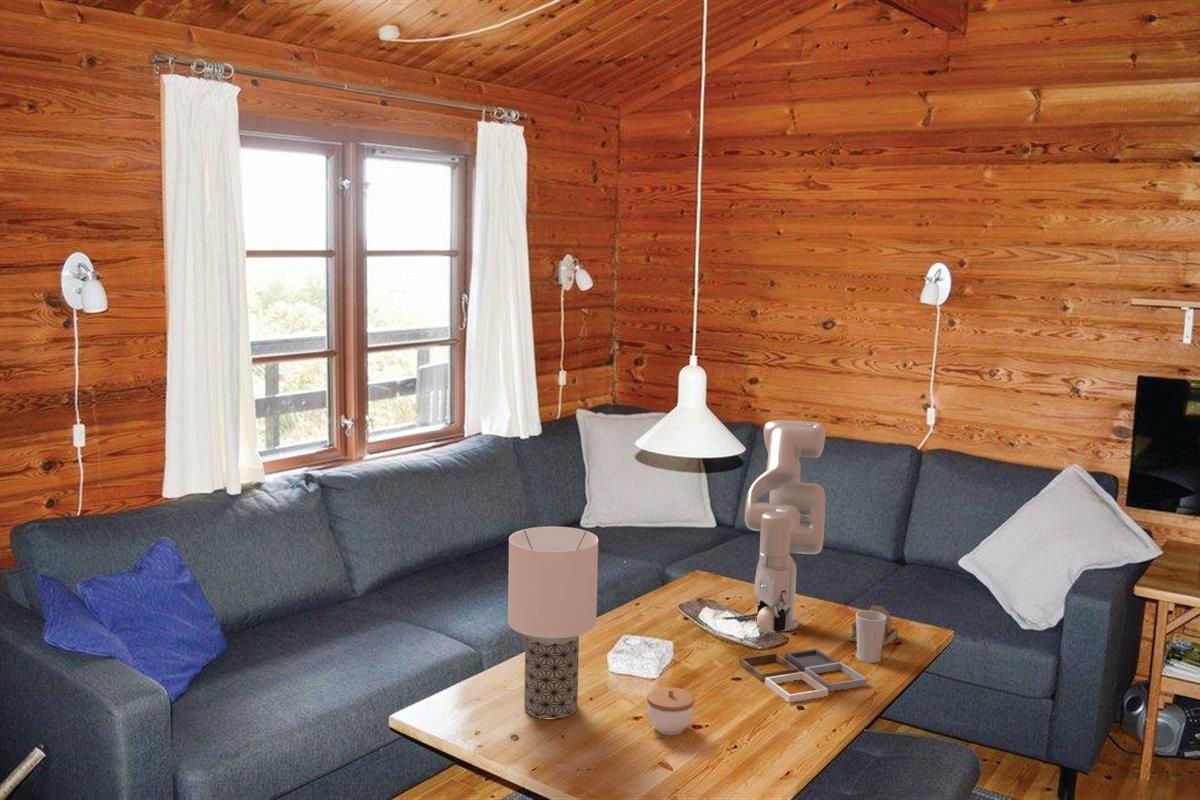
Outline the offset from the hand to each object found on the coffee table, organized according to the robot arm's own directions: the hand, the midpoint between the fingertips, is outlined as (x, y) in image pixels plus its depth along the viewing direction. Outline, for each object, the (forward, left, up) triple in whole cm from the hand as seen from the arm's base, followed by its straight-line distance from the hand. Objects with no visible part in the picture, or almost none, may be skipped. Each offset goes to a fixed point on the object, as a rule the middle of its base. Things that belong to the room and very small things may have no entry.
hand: (771, 624), depth 271 cm
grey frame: (+12, +13, -12) cm, 21 cm away
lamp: (+3, -61, -13) cm, 63 cm away
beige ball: (0, 0, -2) cm, 2 cm away
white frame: (+14, 0, -12) cm, 18 cm away
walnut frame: (+1, 0, -12) cm, 12 cm away
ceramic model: (-9, +39, -13) cm, 42 cm away
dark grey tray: (+1, +13, -12) cm, 18 cm away
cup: (+3, +30, -13) cm, 32 cm away
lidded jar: (+22, -39, -13) cm, 47 cm away
